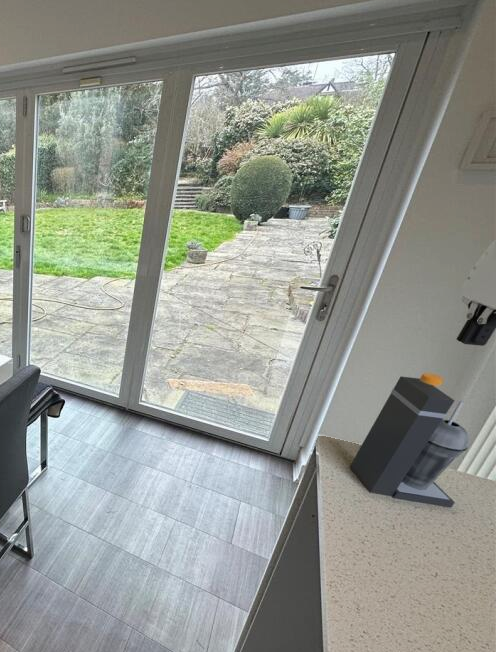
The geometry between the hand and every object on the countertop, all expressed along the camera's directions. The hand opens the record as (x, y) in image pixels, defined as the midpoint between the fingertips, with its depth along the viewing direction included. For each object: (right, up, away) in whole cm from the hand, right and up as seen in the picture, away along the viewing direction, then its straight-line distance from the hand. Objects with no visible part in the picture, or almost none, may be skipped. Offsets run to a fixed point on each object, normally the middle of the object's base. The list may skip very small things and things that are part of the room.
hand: (470, 342), depth 72 cm
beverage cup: (+5, -30, +15) cm, 33 cm away
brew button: (-1, -7, +5) cm, 9 cm away
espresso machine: (+3, -31, +16) cm, 35 cm away
